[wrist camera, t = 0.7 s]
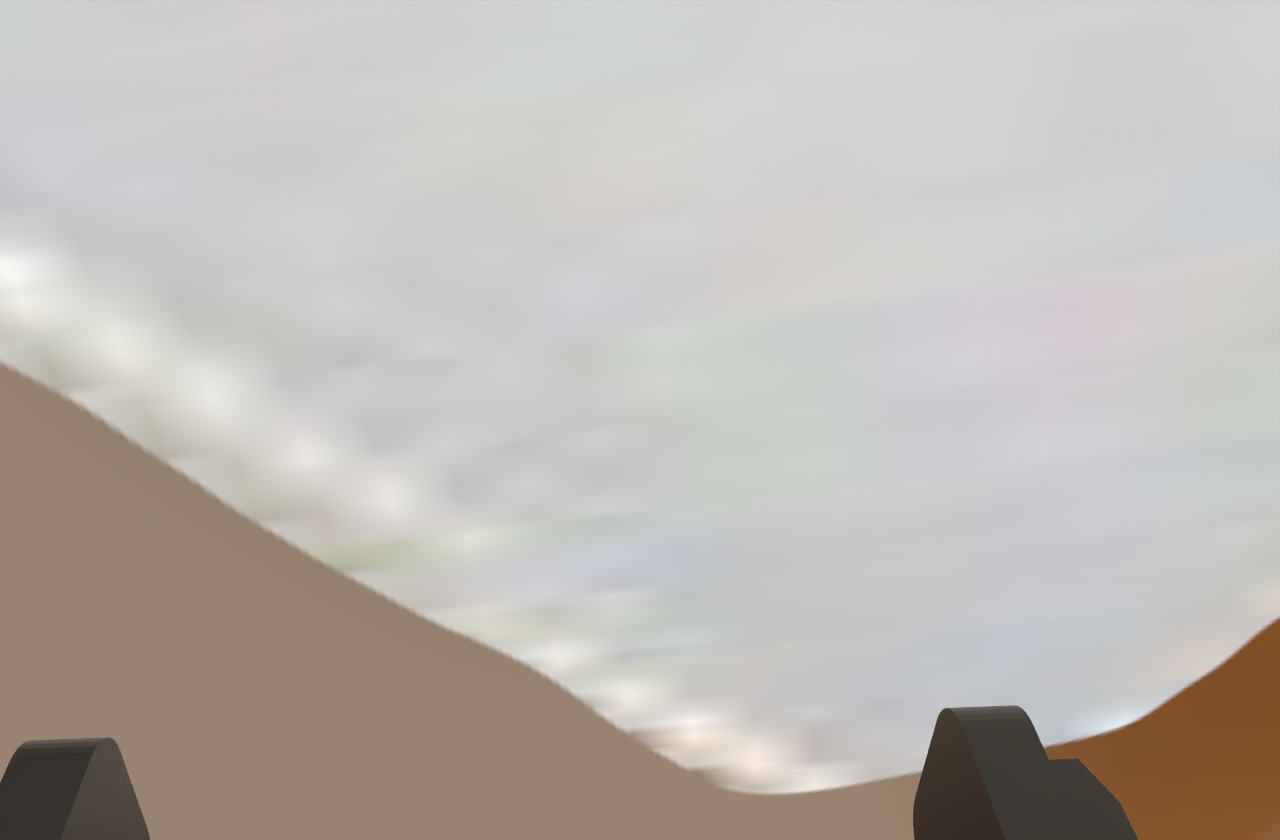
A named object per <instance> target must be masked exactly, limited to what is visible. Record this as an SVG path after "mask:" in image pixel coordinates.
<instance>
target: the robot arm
mask: <svg viewBox="0 0 1280 840" xmlns="http://www.w3.org/2000/svg"><path fill="white" fill-rule="evenodd" d="M913 826H914V837H915V840H1138V839H1137V837H1136V835H1135V833H1134V831H1133V829H1132V827H1131V825H1130V823H1129V821H1128V819H1127V817H1126V815H1125V812H1124V811H1123V808H1122V806H1121V804H1120V802H1119V801H1118V800H1117V799H1116V798H1115V797H1114V796H1113V795H1112V794H1111V793H1110V792H1109V791H1108V790H1107V789H1106V788H1105V787H1104V786H1103V785H1102V784H1101V783H1100V782H1099V781H1098V779H1097V778H1096V777H1095V776H1094V775H1093V774H1092V773H1091V772H1090V771H1089V770H1088V769H1087V768H1086V767H1085V766H1084V765H1083V764H1082V763H1081V762H1080V761H1079V760H1078V759H1059V760H1048V757H1047V755H1046V753H1045V750H1044V748H1043V746H1042V744H1041V742H1040V739H1039V737H1038V735H1037V733H1036V730H1035V728H1034V726H1033V724H1032V722H1031V720H1030V718H1029V716H1028V715H1027V714H1026V712H1025V711H1024V710H1023V709H1022V708H1020V707H1019V706H1015V705H1014V706H989V707H963V708H945V709H943V710H942V711H941V712H940V714H939V716H938V719H937V722H936V726H935V729H934V733H933V736H932V740H931V743H930V747H929V750H928V754H927V757H926V761H925V764H924V768H923V772H922V775H921V779H920V782H919V786H918V789H917V793H916V796H915V801H914V810H913ZM0 840H150V838H149V833H148V829H147V826H146V824H145V820H144V818H143V815H142V812H141V809H140V806H139V804H138V801H137V798H136V795H135V792H134V789H133V786H132V784H131V781H130V778H129V775H128V772H127V769H126V767H125V764H124V761H123V758H122V755H121V752H120V750H119V747H118V745H117V743H116V742H115V741H114V740H113V739H112V738H85V739H60V740H35V741H34V740H33V741H27V742H25V743H23V744H22V745H21V746H20V747H19V748H18V749H17V750H16V752H15V753H14V755H13V756H12V758H11V760H10V762H9V765H8V767H7V769H6V771H5V773H4V776H3V778H2V780H1V782H0Z"/></svg>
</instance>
